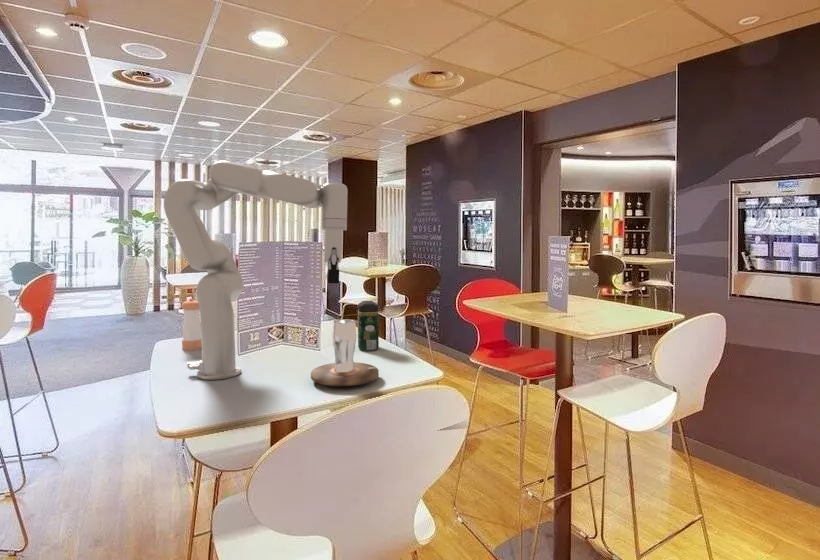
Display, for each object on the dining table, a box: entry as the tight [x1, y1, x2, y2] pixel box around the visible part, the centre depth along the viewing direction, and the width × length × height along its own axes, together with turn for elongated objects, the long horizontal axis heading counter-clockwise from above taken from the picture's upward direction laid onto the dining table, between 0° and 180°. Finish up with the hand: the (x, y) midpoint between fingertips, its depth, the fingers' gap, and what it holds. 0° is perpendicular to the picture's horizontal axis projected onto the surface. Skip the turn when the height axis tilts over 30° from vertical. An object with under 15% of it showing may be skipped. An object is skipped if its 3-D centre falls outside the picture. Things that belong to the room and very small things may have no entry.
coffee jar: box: [357, 300, 380, 352], centre depth 173 cm, size 10×8×19 cm
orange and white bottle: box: [180, 298, 202, 351], centre depth 172 cm, size 7×7×19 cm
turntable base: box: [322, 383, 367, 389], centre depth 135 cm, size 14×14×2 cm
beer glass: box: [332, 318, 357, 374], centre depth 134 cm, size 7×7×15 cm
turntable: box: [310, 361, 380, 386], centre depth 135 cm, size 20×20×2 cm
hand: (333, 281), depth 137 cm, fingers open, 9 cm apart
